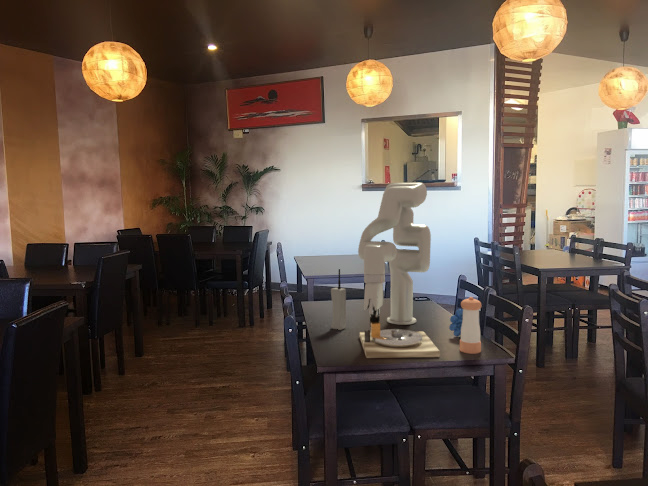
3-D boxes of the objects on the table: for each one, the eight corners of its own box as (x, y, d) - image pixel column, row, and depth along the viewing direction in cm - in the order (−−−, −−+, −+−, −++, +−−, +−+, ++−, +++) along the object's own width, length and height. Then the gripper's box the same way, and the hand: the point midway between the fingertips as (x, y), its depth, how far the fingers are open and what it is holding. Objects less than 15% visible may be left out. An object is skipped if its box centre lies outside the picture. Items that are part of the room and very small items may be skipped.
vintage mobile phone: (336, 326, 212) (336, 267, 210) (346, 328, 209) (345, 268, 207) (331, 328, 209) (330, 268, 207) (340, 330, 206) (340, 269, 204)
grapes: (475, 333, 200) (476, 303, 199) (481, 338, 193) (481, 307, 192) (446, 334, 200) (446, 304, 199) (450, 338, 193) (451, 308, 192)
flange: (375, 347, 174) (375, 329, 173) (367, 333, 192) (367, 316, 191) (428, 346, 175) (428, 328, 175) (415, 332, 193) (415, 315, 193)
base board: (359, 337, 196) (359, 322, 196) (423, 336, 197) (423, 321, 196) (366, 357, 171) (366, 340, 171) (439, 356, 172) (439, 339, 171)
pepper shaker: (466, 354, 174) (467, 299, 172) (455, 348, 181) (456, 295, 179) (485, 352, 176) (486, 298, 174) (473, 346, 183) (474, 294, 181)
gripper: (370, 274, 192) (370, 320, 195) (358, 281, 179) (359, 331, 181) (389, 275, 190) (389, 322, 192) (379, 282, 176) (379, 333, 178)
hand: (374, 326), depth 186 cm, fingers closed
